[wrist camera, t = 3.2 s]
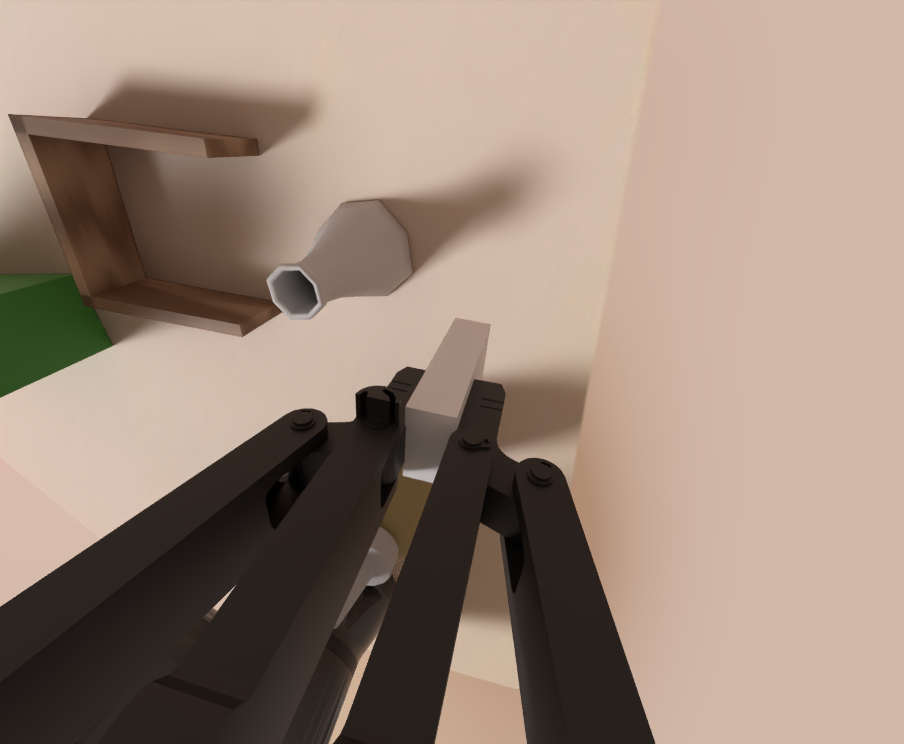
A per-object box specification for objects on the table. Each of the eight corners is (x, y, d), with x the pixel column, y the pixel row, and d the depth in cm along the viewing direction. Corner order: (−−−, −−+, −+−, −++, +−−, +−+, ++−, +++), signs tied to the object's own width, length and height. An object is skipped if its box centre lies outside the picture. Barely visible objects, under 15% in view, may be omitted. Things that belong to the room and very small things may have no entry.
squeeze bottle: (460, 392, 34) (388, 591, 19) (463, 463, 38) (405, 675, 23) (373, 386, 36) (242, 563, 21) (384, 455, 40) (281, 646, 25)
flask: (385, 181, 27) (310, 198, 19) (429, 279, 30) (380, 332, 22) (305, 222, 30) (207, 253, 22) (352, 308, 33) (282, 366, 24)
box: (280, 313, 34) (242, 337, 30) (139, 287, 36) (84, 305, 32) (256, 139, 28) (203, 138, 23) (85, 118, 30) (7, 114, 25)
